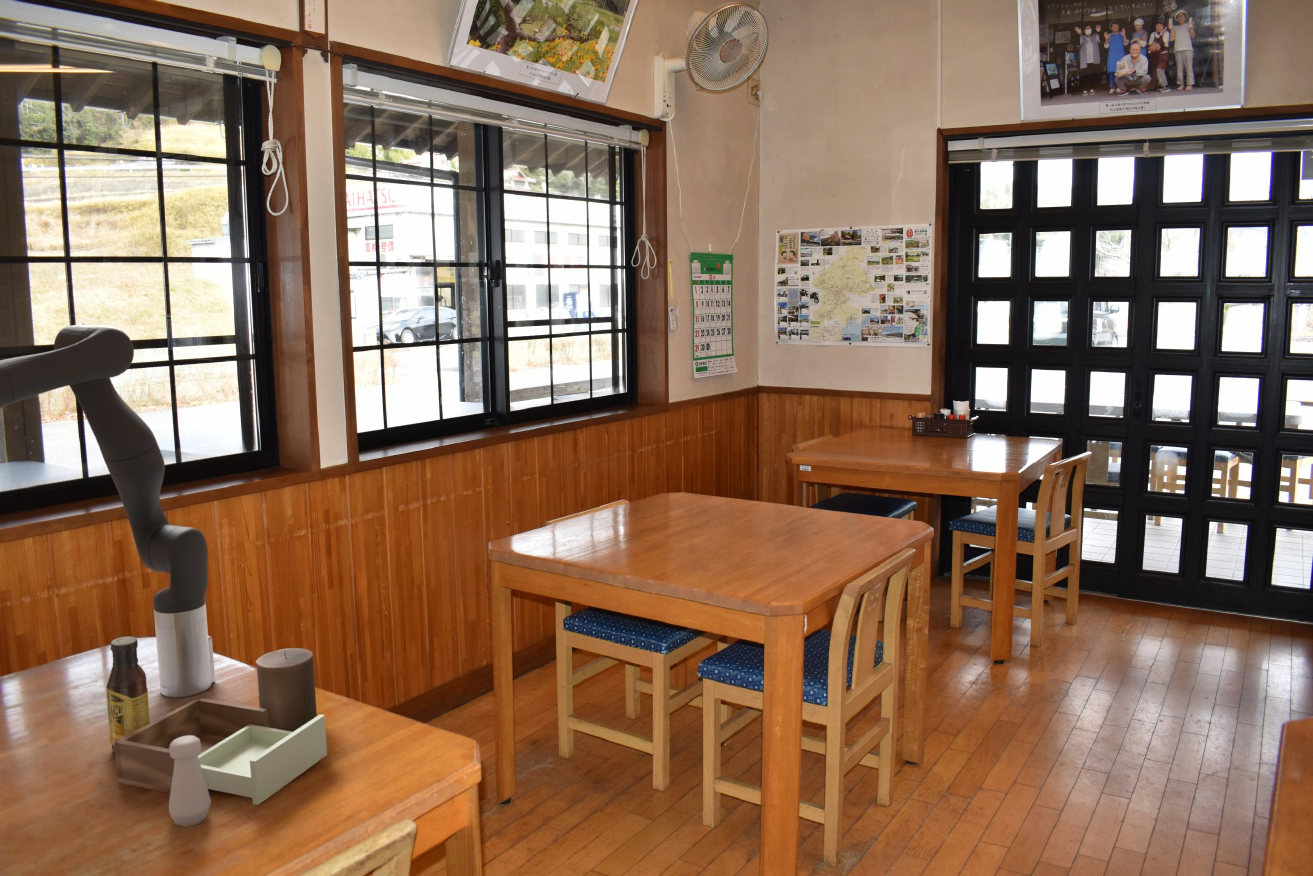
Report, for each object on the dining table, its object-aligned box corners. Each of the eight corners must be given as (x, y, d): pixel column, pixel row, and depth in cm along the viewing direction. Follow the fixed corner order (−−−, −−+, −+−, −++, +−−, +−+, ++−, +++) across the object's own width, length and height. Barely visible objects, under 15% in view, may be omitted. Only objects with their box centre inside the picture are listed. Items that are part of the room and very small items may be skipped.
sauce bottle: (105, 748, 171) (95, 639, 168) (143, 736, 176) (134, 630, 172) (119, 760, 167) (109, 649, 163) (158, 747, 171) (148, 639, 168)
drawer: (254, 741, 172) (252, 702, 171) (327, 754, 167) (324, 715, 166) (180, 789, 156) (177, 746, 155) (258, 805, 151) (255, 761, 150)
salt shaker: (203, 805, 153) (197, 727, 151) (218, 819, 149) (212, 739, 147) (164, 819, 149) (157, 739, 147) (177, 834, 145) (170, 752, 143)
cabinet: (200, 734, 176) (198, 697, 175) (269, 746, 172) (267, 709, 171) (118, 782, 160) (114, 742, 158) (192, 798, 155) (188, 756, 154)
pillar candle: (322, 732, 177) (318, 653, 175) (265, 745, 172) (260, 664, 170) (310, 713, 185) (306, 637, 183) (255, 725, 180) (250, 647, 178)
